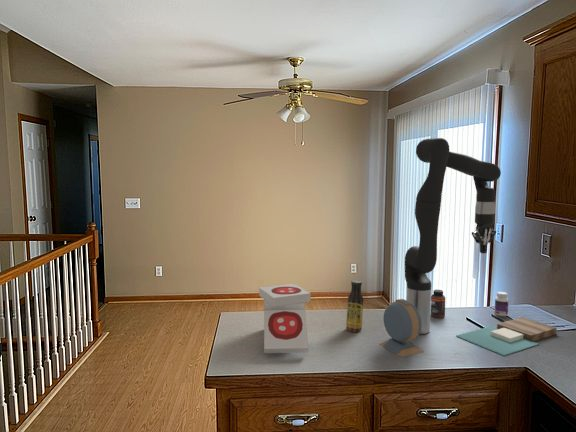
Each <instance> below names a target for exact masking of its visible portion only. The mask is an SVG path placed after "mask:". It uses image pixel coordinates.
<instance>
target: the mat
mask: <svg viewBox="0 0 576 432" xmlns="http://www.w3.org/2000/svg"><path fill="white" fill-rule="evenodd" d="M494 330H497V327H493V326H490V325H489V326H487V327H482V328H480V329H475V330H471V331H468V332H465V333H464V332H463V333H460V334H456V336H455V337H457V338H459V339H462V340H464V341H466V342H469V343H471V344H474V345H475V346H478V347H480V348H484V349H486V350H488V351H490V352H493V353H495V354H498V355H500V356H503V357H506V356H509V355H511V354H512V355H513V354H515V353H518V352H520V351H524V350H527V349H531V348H534V347H536V346H539V345H540V344H539V343H538V342H536V341H530V340H527V339H524V338H523V339H520V340H517V341H514V342H507V341H504V340H502V339H499V338H496V337H494V336H491V331H494Z"/></svg>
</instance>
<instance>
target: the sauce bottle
mask: <svg viewBox="0 0 576 432" xmlns="http://www.w3.org/2000/svg"><path fill="white" fill-rule="evenodd" d="M362 284H363V282H362V280H356V279H354V280H353V279H352V280H351V291H350V293H349V294H348V297H347V306H346V319H345V320H346V325H345V326H346V327H345V328H346V329H345V330H347V331H348V332H351V333H359V332H361V331H362V327H363V319H364V318H363V315H364V313H363V311H364V298H363V295H362Z"/></svg>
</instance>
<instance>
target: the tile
mask: <svg viewBox="0 0 576 432" xmlns="http://www.w3.org/2000/svg"><path fill="white" fill-rule="evenodd" d="M496 329H497V328H496ZM491 336H494V337H496V338H499V339H502V340H504V341H507V342H514V341H517V340H520V339H523V336H524V334H521V333H518V332H515V331H512V330H509V329H507V328H501V329H497V330H494V331H491Z"/></svg>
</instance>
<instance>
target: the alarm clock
mask: <svg viewBox="0 0 576 432" xmlns="http://www.w3.org/2000/svg"><path fill="white" fill-rule="evenodd" d="M385 308H386V309H384V312H383V326H384V329H385V331H386V332H387V334H388V335H389V336H390V338H389V339H388V340H386V341H383V342H380V343H379V345H380V346H381V345H382V346H381V347H383V348H385V349H387V350H388V349H389V351H390V350H391V351H390V352H391V353H394V354H395V353H396V355H397V356H399V357H401V358H405V357H409V356H412V355H413V354H414V355H418V354H422V353H424V352H425V351H424V350H423V349H421V348H420V347H419V346H417V345H415V344H414V343H413V342H412V341H414V340H415V339H416V338H417V337H418V336H419V335H420V334H419V333H420V331H421V327H422V322H421V317H420V314H419V312H418V310H417V309H416V308H415V307H414V306H413V305H412V304H410V303H409V302H408V301H406V299H403V298H398V299H395V300H394V301H393V302H392V303H390V304H389V305H388V306H387V307H385ZM421 352H422V353H421Z"/></svg>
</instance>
